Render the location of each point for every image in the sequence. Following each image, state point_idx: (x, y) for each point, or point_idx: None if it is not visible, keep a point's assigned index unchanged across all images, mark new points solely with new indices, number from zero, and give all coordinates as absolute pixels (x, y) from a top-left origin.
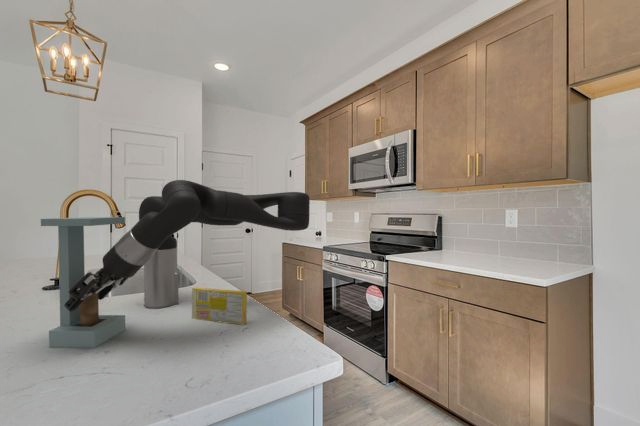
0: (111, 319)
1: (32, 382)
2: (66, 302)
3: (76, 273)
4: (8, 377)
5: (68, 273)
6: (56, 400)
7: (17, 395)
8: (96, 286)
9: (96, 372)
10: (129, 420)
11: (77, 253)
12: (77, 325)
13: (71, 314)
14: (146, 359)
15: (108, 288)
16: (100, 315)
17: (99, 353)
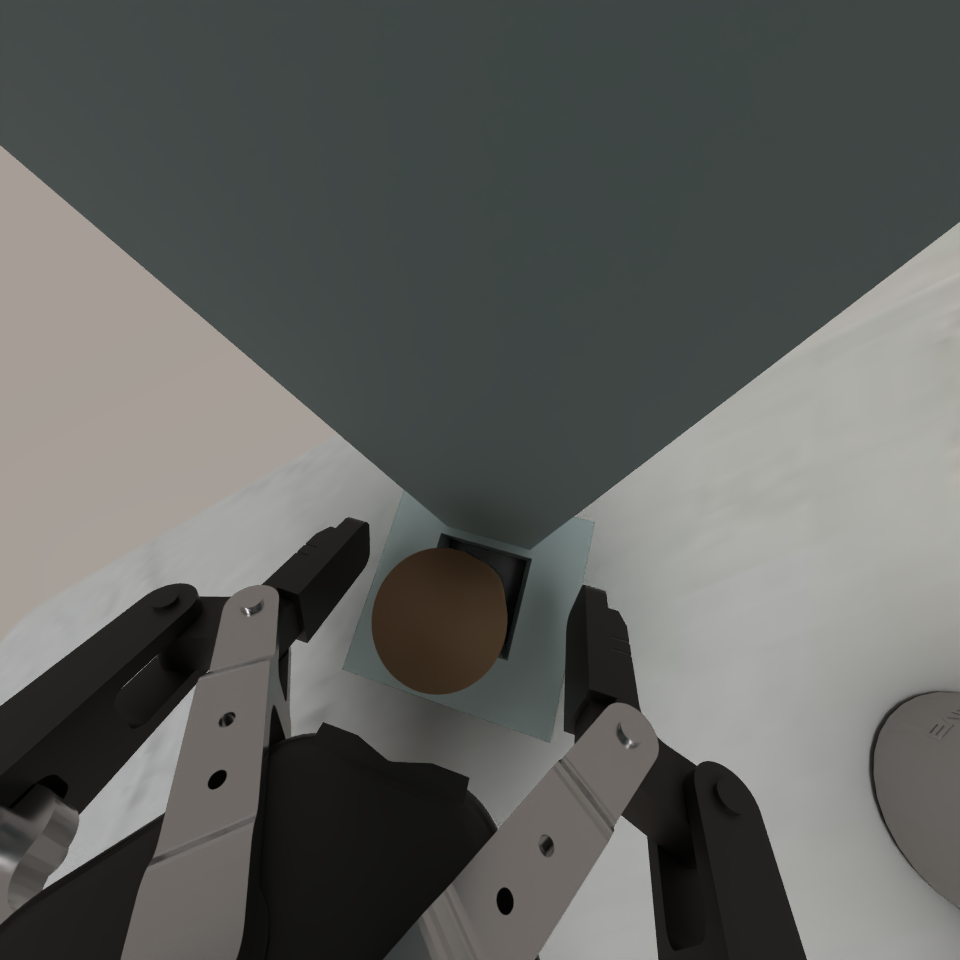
0: (493, 687)
1: (180, 577)
2: (336, 528)
3: (459, 477)
4: (240, 495)
5: (349, 440)
6: None
7: (122, 579)
8: (420, 690)
9: (158, 749)
10: None
11: (429, 283)
12: (475, 543)
13: (450, 522)
14: None
15: (569, 717)
16: (571, 600)
17: (311, 694)
